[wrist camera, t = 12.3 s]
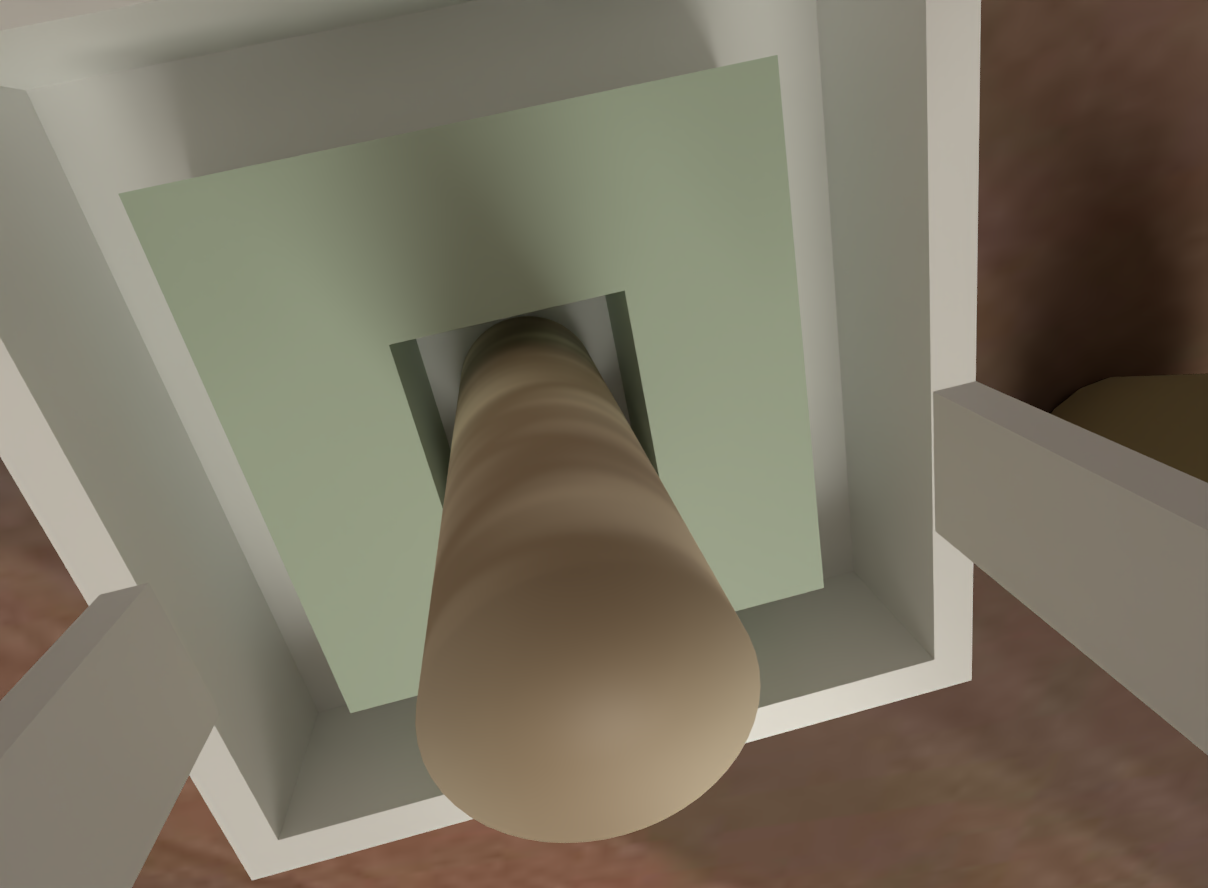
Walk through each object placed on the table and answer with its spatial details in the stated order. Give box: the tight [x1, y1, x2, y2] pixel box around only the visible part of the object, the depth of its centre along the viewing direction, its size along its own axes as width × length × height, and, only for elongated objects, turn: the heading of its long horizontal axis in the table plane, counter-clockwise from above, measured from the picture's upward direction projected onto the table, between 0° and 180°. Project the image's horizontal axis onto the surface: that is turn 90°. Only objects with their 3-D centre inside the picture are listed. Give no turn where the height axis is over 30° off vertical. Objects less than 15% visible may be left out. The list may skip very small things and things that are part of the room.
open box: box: [0, 0, 981, 880], centre depth 19 cm, size 22×22×6 cm
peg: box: [415, 316, 761, 843], centre depth 14 cm, size 4×4×14 cm
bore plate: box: [119, 55, 824, 713], centre depth 19 cm, size 14×14×4 cm
